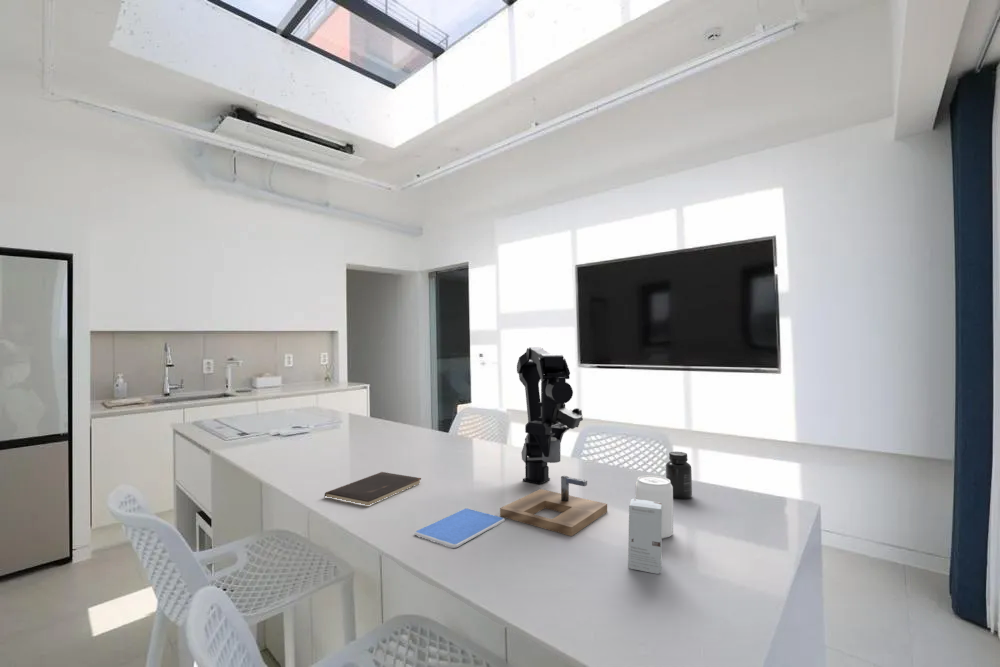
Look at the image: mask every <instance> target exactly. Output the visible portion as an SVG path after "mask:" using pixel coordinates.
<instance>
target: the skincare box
mask: <svg viewBox="0 0 1000 667" xmlns="http://www.w3.org/2000/svg"><path fill="white" fill-rule="evenodd" d="M628 514H629V515H628V543H627V544H628V547H627V548H628V552H627V553H628V554H627V558H628V560H627V569H629V570H630V569H632V570H636V571H641V572H646V573H652V574H656V575H659V574H661V568H662V552H663V551H662V548H663V546H662V542H663V541H662V539H663V538H662V503H659V502H653V501H648V500H638V499H635V498H631V500H630V502H629V506H628Z"/></svg>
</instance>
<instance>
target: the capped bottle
mask: <svg viewBox="0 0 1000 667" xmlns="http://www.w3.org/2000/svg"><path fill="white" fill-rule="evenodd" d="M542 460H543V461H544V462H547V464H549V463H550V464H554V463H555V464H556V463H560V462H561V443H560V440H559V439H556V438H555V437H551V441H550V450H549V456H548V457H545V456H544V454H543V452H542Z"/></svg>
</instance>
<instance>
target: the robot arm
mask: <svg viewBox="0 0 1000 667" xmlns="http://www.w3.org/2000/svg"><path fill="white" fill-rule="evenodd" d="M566 360H567V359H566V358H565V357H564V354H561V353H556V354H555V353H550V352H548V351H547V350H545V349H544V348H543V347H539V346H537V347H532V346H531V347H527V348H526V350H525V352H524V353H523V354H522V355H520V356H519V357H518V360H517V364H516V373H517V374H518V379H519V381H520V382H521V384H522V385H523V387H524V388H525V389H524V390H525V400H526V414H527V423H526V424H525V427H524V428H525V429H524V432H525V434H526V437H525V438H524V443H523V446H522V450H521V460H522V461H523V462H524V463H525V477H524V478H522V481H523V482H528V483H532V484H537V485H541V484H543V483H545V482H548V481H550V480H551V478H550V476H549V475H550V474H549V473H550V471H549V469H550V468H549V466H548V462H544V461H543V460H542V452H543V454H544V456H545V457H548V456H549V450H550V441H551V437H555V438H556V439H559V440H560V444H562V439H563V436H564V435H565V433H566V432H567V431H569V430H574V429H575V428H579V425H580V423H581V422H582V421H583V413H582V409H580V408H578V407H576V408H575V407H574V409H568V408H566V403H569V402H570V401H571V399H572V398H573V395H574V391H573V387H572V386H571V385H570V383H569V382H567V381H566V380H570V374H571V371H570V368H569V365H568V363H567V361H566ZM540 381H541V382H540ZM539 385H540V386H539Z"/></svg>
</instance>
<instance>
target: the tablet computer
mask: <svg viewBox="0 0 1000 667" xmlns="http://www.w3.org/2000/svg"><path fill="white" fill-rule="evenodd" d="M505 521H506V520H505V517H501V516H497V515H493V514H489V513H485V512H482V511H480V510H479V511H478V510H475V509H471V508H463V509H461V510H459V511H456V512H455V513H453V514H451V515H449V516H446V517H445V518H444V517H443V518H442V519H440V520H437V521H435V522H433V523H431V524H429V525H426V526H424V527H422V528H420V529H418V530H416V531H414V534H415V535H417V536H420V537H423V538H426V539H429V540H432V541H435V542H437V543H436V544H438V543H441V544H443V545H442V546H444V545H446V546H445V547H447V546H448V547H447V548H451V549H457V548H459V547H460V546H463V545H464V544H465V543H467V542H469V541H470V540H472V539H475V538H477V537H478V536H479V535H481V534H483V533H485V532H487V531H489V530H491V529H493V528H495V527H497V526H499V525H500V524H502V523H504V522H505ZM414 534H413V535H414ZM415 535H414V536H415ZM417 536H416V537H417ZM420 537H419V538H420ZM423 538H422V539H423ZM426 539H425V540H426ZM429 540H428V541H429ZM432 541H431V542H432ZM435 542H434V543H435ZM441 544H440V545H441Z"/></svg>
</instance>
